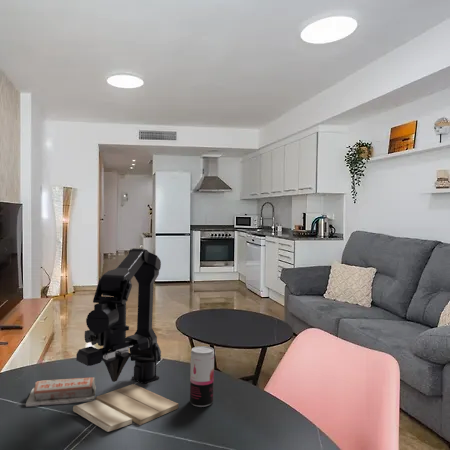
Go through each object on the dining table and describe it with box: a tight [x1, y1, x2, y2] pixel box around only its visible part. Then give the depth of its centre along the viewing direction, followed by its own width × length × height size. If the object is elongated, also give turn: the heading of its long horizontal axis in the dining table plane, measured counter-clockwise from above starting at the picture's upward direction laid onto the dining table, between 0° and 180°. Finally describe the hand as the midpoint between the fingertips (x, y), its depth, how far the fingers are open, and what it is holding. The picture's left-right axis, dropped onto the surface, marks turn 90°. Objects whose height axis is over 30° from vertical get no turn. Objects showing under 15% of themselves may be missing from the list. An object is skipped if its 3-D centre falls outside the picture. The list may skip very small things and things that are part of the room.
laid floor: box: [95, 383, 180, 426], centre depth 117 cm, size 13×20×1 cm, turn 49°
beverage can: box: [189, 345, 215, 408], centre depth 119 cm, size 6×6×15 cm
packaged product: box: [25, 376, 97, 408], centre depth 121 cm, size 18×5×10 cm
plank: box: [72, 399, 133, 433], centre depth 108 cm, size 7×16×1 cm, turn 49°
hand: (114, 381), depth 110 cm, fingers closed
